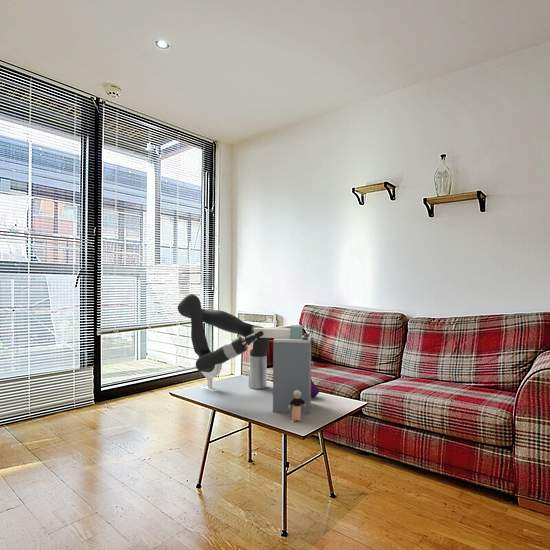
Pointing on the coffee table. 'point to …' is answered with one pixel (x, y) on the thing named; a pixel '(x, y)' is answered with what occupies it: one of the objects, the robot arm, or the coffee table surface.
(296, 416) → the grandmother figurine
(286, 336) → the cartridge
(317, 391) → the perfume bottle
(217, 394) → the coffee table surface
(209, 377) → the heart sculpture
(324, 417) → the coffee table surface
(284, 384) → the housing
